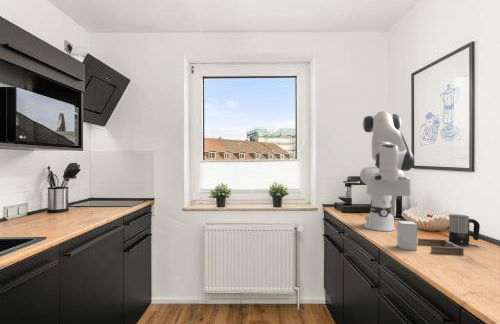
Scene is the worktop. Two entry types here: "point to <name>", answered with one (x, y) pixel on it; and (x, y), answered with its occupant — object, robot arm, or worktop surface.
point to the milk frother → (461, 229)
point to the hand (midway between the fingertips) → (387, 204)
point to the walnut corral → (448, 248)
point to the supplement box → (407, 235)
